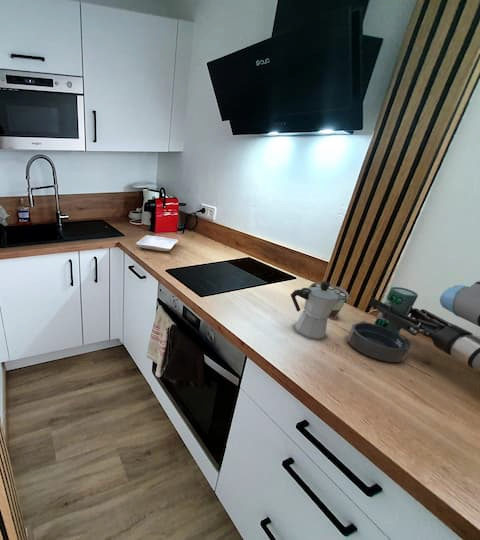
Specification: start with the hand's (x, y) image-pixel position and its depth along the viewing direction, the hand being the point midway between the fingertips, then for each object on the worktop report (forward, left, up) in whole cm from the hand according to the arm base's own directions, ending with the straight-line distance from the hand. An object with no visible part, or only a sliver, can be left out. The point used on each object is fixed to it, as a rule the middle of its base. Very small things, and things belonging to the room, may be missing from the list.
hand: (380, 301), depth 96 cm
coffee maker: (+21, +15, -9) cm, 28 cm away
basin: (+3, +16, -9) cm, 19 cm away
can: (-3, +4, -9) cm, 10 cm away
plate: (+92, -45, -9) cm, 103 cm away
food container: (+13, -3, -9) cm, 17 cm away
